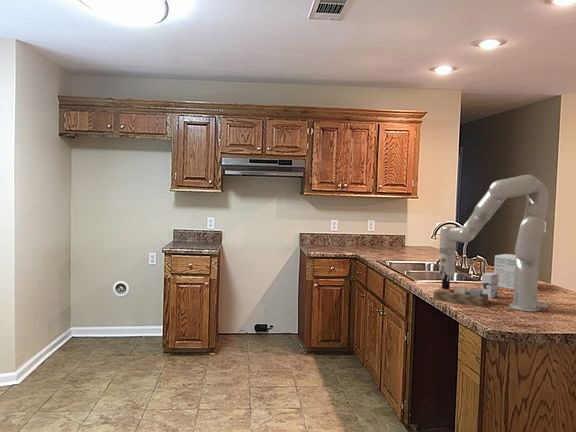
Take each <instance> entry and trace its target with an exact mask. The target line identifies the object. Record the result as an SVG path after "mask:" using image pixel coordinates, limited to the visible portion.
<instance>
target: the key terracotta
mask: <svg viewBox="0 0 576 432" xmlns="http://www.w3.org/2000/svg"><path fill="white" fill-rule="evenodd" d="M439 289H440V291H443V292H452V289H453V288H449V289H448V290H447V289H442V287H441V288H439Z"/></svg>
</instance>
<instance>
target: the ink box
mask: <svg viewBox="0 0 576 432" xmlns="http://www.w3.org/2000/svg"><path fill="white" fill-rule="evenodd" d="M481 281H482V282H481V289H483V294H488V299H493V298H495V297H496V298H497V297H498V289H499V287H498V273H494V272H486V273H482V279H481Z"/></svg>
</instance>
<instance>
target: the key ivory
mask: <svg viewBox="0 0 576 432" xmlns="http://www.w3.org/2000/svg"><path fill="white" fill-rule="evenodd" d="M454 290H455V291H454V293H457V294H464V295H465V294H467V291H468V287H465V286H464V287H463V286H455V287H454Z"/></svg>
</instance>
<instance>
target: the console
mask: <svg viewBox="0 0 576 432" xmlns="http://www.w3.org/2000/svg"><path fill="white" fill-rule="evenodd" d="M440 289H441V288H438V289H436V290H434V291H433V298H432V299H433V301H440V302H445V303H451V304H458V305H465V306H470V305H471V306H472V307H477V306H478V307H477V308H482V307H484V306H485V305H487V304H488V303H489V298H488V294H482V296H481V297H478V296H471V295H470V291H468V290H467V294H465V295H464V294H457V293H454V291H455V288H454V289H453V288H451V289H452V292H443V291H440ZM483 305H484V306H483Z"/></svg>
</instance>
